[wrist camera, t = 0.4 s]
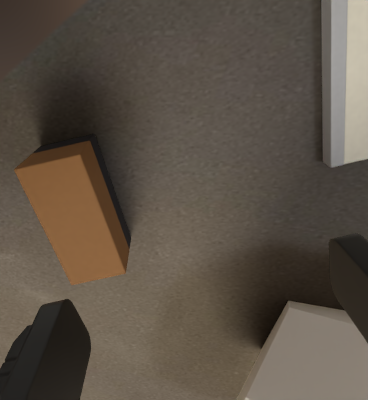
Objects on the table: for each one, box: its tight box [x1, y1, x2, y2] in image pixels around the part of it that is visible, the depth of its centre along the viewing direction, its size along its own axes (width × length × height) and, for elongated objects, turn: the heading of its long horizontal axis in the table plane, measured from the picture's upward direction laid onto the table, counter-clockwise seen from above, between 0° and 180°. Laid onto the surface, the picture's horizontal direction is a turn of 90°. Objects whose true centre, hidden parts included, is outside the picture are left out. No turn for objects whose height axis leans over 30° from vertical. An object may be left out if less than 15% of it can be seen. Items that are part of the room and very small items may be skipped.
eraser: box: [14, 134, 131, 285], centre depth 22 cm, size 4×9×4 cm, turn 12°
